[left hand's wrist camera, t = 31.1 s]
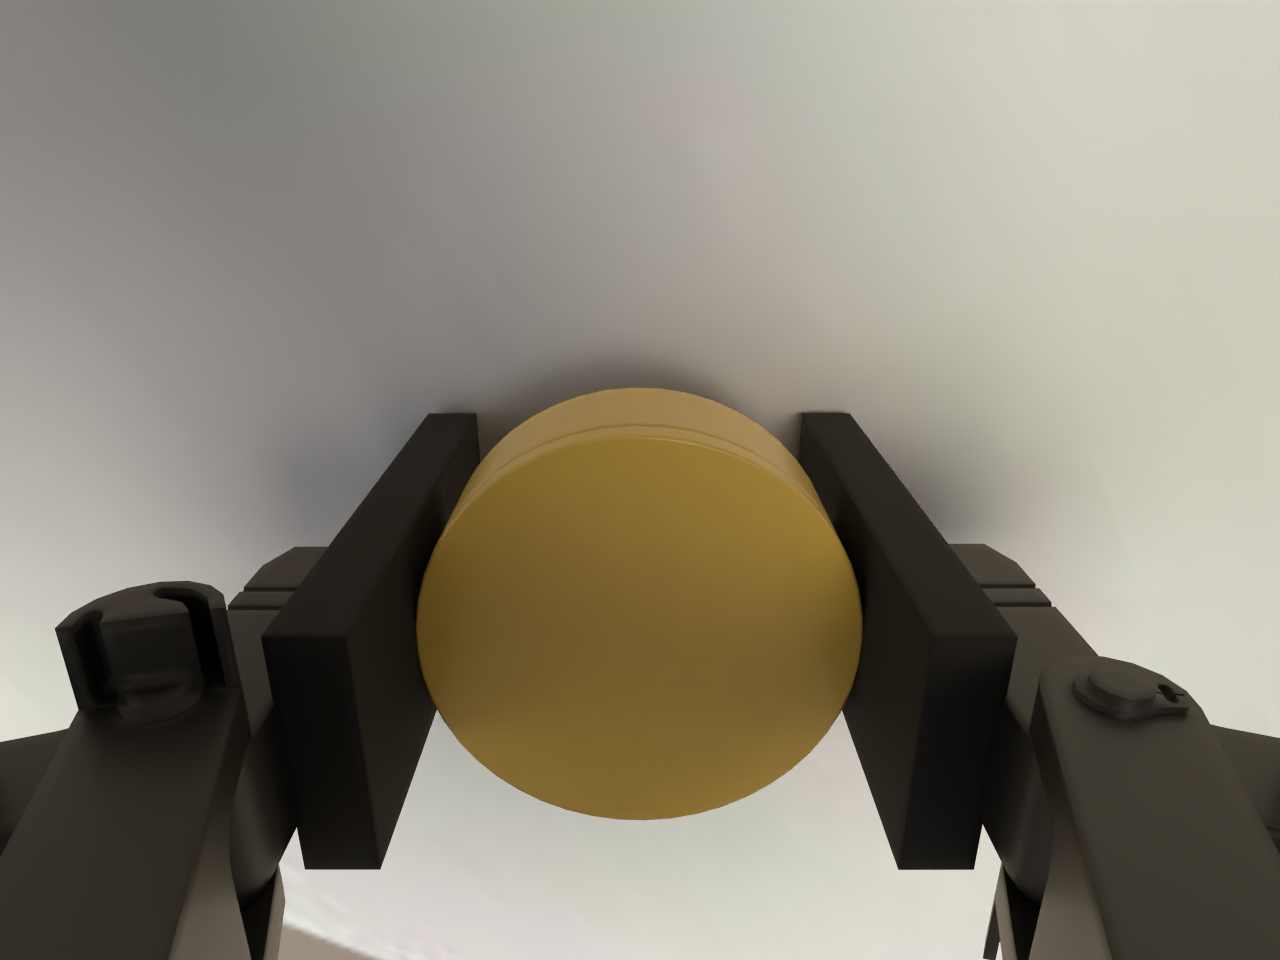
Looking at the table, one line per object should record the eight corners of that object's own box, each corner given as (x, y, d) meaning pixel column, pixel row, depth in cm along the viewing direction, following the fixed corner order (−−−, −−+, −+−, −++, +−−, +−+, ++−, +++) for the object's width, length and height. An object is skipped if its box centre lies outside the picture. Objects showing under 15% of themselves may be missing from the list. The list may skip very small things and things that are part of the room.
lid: (630, 299, 10) (629, 333, 9) (909, 562, 12) (957, 639, 10) (371, 576, 12) (324, 654, 10) (645, 784, 13) (647, 884, 11)
